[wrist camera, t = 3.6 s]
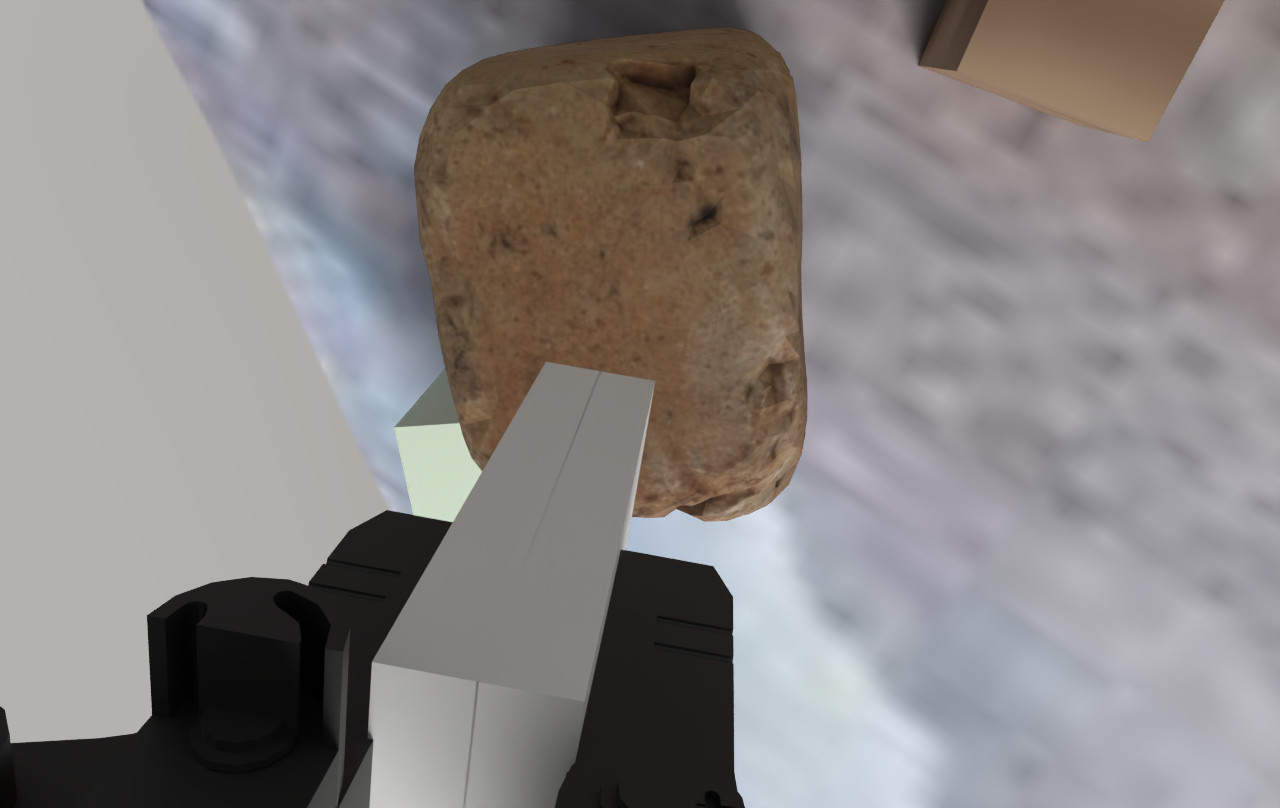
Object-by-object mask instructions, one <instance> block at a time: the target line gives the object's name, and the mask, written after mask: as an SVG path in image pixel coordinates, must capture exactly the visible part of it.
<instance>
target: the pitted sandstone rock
mask: <svg viewBox="0 0 1280 808" xmlns="http://www.w3.org/2000/svg"><path fill="white" fill-rule="evenodd" d="M801 166H802V165H801V150H800V136H799V122H798V112H797V101H796V94H795V88H794V82H793V78H792V76H791V74H790V72H789V69H788V67H787V65H786V63H785V61H784V59H783V58H782V56H781V54H780V53H779V52H778V51H776V50H775V49H774V48H773V47H772V46H771V45H770V44H769V43H767V42H766V41H765V40H764V39H763V38H762V37H760V36H759V35H757V34H755V33H753V32H751V31H748V30H743V29H734V28H709V29H692V30H683V31H670V32H662V33H653V34H642V35H633V36H625V37H615V38H604V39H597V40H590V41H583V42H571V43H565V44H559V45H554V46H545V47H538V48H531V49H525V50H519V51H514V52H508V53H504V54H501V55H497V56H493V57H490V58H486V59H483V60H481V61H479V62H477V63H476V64H474V65H472V66H470V67H468V68H466V69H464V70H463V71H461V72H460V73H459V74H458V75H457V76H455V77H454V78H453V79H452V80H451V81H450V82H448V83H447V84H446V85H445V86H444V88H443V90H442V91H441V93H440V94H439V96H438V98H437V99H436V101H435V102H434V104H433V106H432V107H431V109H430V112H429V114H428V117H427V119H426V122H425V125H424V127H423V130H422V132H421V135H420V138H419V144H418V149H417V155H416V160H415V166H414V176H415V188H416V200H417V211H418V223H419V235H420V242H421V246H422V249H423V253H424V257H425V260H426V264H427V267H428V271H429V274H430V278H431V284H432V291H433V298H434V306H435V313H436V321H437V328H438V335H439V340H440V344H441V349H442V354H443V358H444V363H445V367H446V372H447V377H448V381H449V385H450V389H451V393H452V397H453V401H454V405H455V409H456V412H457V416H458V420H459V423H460V427H461V431H462V434H463V438H464V440H465V443H466V445H467V448H468V450H469V453H470V455H471V458H472V459H473V460H474V462H475V463H476V464H477V466H478V467H479V468H480V469H481V471H483V469H484V468H485V466H486V464H487V463H488V461H489V459H490V457H491V456H492V454H493V452H494V450H495V449H496V447H497V445H498V444H499V442H500V440H501V438H502V437H503V435H504V433H505V432H506V430H507V428H508V426H509V425H510V423H511V421H512V419H513V418H514V416H515V414H516V413H517V411H518V409H519V407H520V406H521V404H522V402H523V400H524V399H525V397H526V395H527V394H528V392H529V390H530V388H531V387H532V385H533V383H534V381H535V380H536V378H537V376H538V375H539V373H540V371H541V369H542V368H543V366H544V364H545V362H551V363H556V364H562V365H568V366H573V367H579V368H585V369H590V370H596V371H602V372H607V373H613V374H618V375H624V376H630V377H635V378H641V379H647V380H652V381H655V385H654V391H653V396H652V402H651V408H650V414H649V420H648V426H647V431H646V437H645V443H644V449H643V455H642V461H641V466H640V472H639V478H638V484H637V490H636V496H635V501H634V507H633V513H632V517H644V518H655V517H665V516H666V515H668V514H669V513H671V512H672V511H674V510H675V509H678V510H680V511H683V512H685V513H687V514H689V515H692V516H694V517H696V518H698V519H700V520H702V521H727V520H731V519H734V518H737V517H740V516H743V515H746V514H750V513H752V512H754V511H756V510H758V509H760V508H762V507H765V506H766V505H768V504H769V503H771V502H772V501H773V500H774V499H775V498H776V497H777V496H778V495H779V494H780V493H781V492H782V491H783V490H784V489H785V488H786V487H787V486H788V485H789V483H790V480H791V478H792V475H793V473H794V471H795V468H796V466H797V464H798V461H799V459H800V456H801V454H802V449H803V443H804V438H805V428H806V422H807V376H806V365H805V354H804V338H803V321H802V293H801V258H802V184H801Z"/></svg>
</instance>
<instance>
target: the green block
mask: <svg viewBox="0 0 1280 808" xmlns="http://www.w3.org/2000/svg"><path fill="white" fill-rule="evenodd" d="M394 429H395V433H396V438H397V442H398V447H399V451H400V456H401V461H402V465H403V470H404V474H405V479H406V483H407V488H408V492H409V497H410V502H411V506H412V511H413V515H416V516H421V517H427V518H432V519H438V520H443V521H448V522H453V521H454V520H455V518H456V516H457V514H458V513H459V511H460V509H461V507H462V506H463V504H464V502H465V501H466V499H467V497H468V495H469V494H470V492H471V490H472V488H473V487H474V485H475V483H476V482H477V480H478V478H479V476H480V475H481V473H482V471H481V469H480V468H479V467H478V466H477V464H476V463H475V462H474V460H473V459H472V458H471V455H470V453H469V450H468V448H467V445H466V443H465V440H464V438H463V434H462V431H461V427H460V423H459V420H458V416H457V412H456V409H455V405H454V401H453V397H452V393H451V389H450V385H449V381H448V377H447V372H446V368H445V369H444V371H443V372H442V373H441V374H440V375H439V376H438V377H437V379H436V380H435V381H434V382H433V383H432V384H431V386H430V387H429V388H428V389H427V390H426V391H425V393H424V394H423V395H422V396H421V397H420V398H419V399H418V401H417V402H416V403H415V404H414V405H413V406H412V408H411V409H410V410H409V411H408V412H407V413H406V414H405V416H404V417H403V418H402V419H401V420H400V421H399V423H398V424H397V425H396V426H395V427H394Z"/></svg>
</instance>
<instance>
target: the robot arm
mask: <svg viewBox="0 0 1280 808" xmlns="http://www.w3.org/2000/svg"><path fill="white" fill-rule="evenodd" d="M654 385H655V381H652V380H647V379H641V378H635V377H630V376H624V375H618V374H613V373H607V372H602V371H596V370H590V369H585V368H579V367H573V366H568V365H562V364H556V363H551V362H545V364H544V366H543V368H542V369H541V371H540V373H539V375H538V376H537V378H536V380H535V381H534V383H533V385H532V387H531V388H530V390H529V392H528V394H527V395H526V397H525V399H524V400H523V402H522V404H521V406H520V407H519V409H518V411H517V413H516V414H515V416H514V418H513V419H512V421H511V423H510V425H509V426H508V428H507V430H506V432H505V433H504V435H503V437H502V438H501V440H500V442H499V444H498V445H497V447H496V449H495V450H494V452H493V454H492V456H491V457H490V459H489V461H488V463H487V464H486V466H485V468H484V469H483V471H482V473H481V475H480V476H479V478H478V480H477V482H476V483H475V485H474V487H473V488H472V490H471V492H470V494H469V495H468V497H467V499H466V501H465V502H464V504H463V506H462V507H461V509H460V511H459V513H458V514H457V516H456V518H455V520H454V521H453V522H448V521H443V520H438V519H432V518H427V517H421V516H416V515H410V514H405V513H399V512H394V511H388V510H386V511H385V512H383V513H381V514H379V515H377V516H375V517H374V518H372V519H370V520H368V521H366V522H364V523H362V524H360V525H359V526H357V527H355V528H353V529H351V530H350V531H349V532H348V533H347V534H346V535H345V537H344V538H343V539H342V541H341V542H340V543H339V544H338V546H337V547H336V548H335V550H334V551H333V552H332V553H331V555H330V556H329V557H328V559H327V563H326V564H323V565H322V566H321V567H320V569H319V570H318V571H317V572H316V574H315V575H314V577H313V578H312V579H311V580H310V581H309V585H308V586H307V585H304V584H301V583H298V582H295V581H292V580H287V579H272V578H256V577H249V578H241V579H234V580H227V581H220V582H213V583H210V584H207V585H204V586H201V587H198V588H196V589H193V590H190V591H187V592H184V593H182V594H179V595H176V596H174V597H173V598H172V599H170V600H169V601H167V602H166V603H164V604H163V605H161V606H160V607H159V608H157V609H156V610H154V611H153V612H151V613H150V614H149V615H147V623H148V644H149V663H150V681H151V700H152V716H151V717H150V718H149V719H148V720H147V722H146V723H145V724H144V725H143V726H142V727H141V729H140V730H139V731H138V732H137V733H134V734H129V735H121V736H113V737H106V738H96V739H78V740H61V741H43V742H26V743H10V735H9V730H8V725H7V719H6V714H5V710H4V709H3V708H2V707H0V808H745V807H744V803H743V799H742V797H741V795H740V794H739V793H738V792H737V786H736V780H735V774H734V681H733V663H732V662H733V636H732V633H733V596H732V595H731V593H730V592H729V590H728V589H727V587H726V585H725V584H724V582H723V581H722V579H721V578H720V576H719V574H718V573H717V571H716V570H715V568H714V567H713V566H709V565H703V564H698V563H692V562H687V561H681V560H676V559H670V558H665V557H659V556H654V555H648V554H643V553H637V552H632V551H626V548H627V542H628V536H629V530H630V525H631V519H632V513H633V507H634V501H635V496H636V490H637V484H638V478H639V472H640V466H641V461H642V455H643V449H644V443H645V437H646V431H647V426H648V420H649V414H650V408H651V402H652V396H653V391H654Z"/></svg>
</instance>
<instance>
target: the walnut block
mask: <svg viewBox="0 0 1280 808" xmlns="http://www.w3.org/2000/svg"><path fill="white" fill-rule="evenodd" d="M1223 2H1224V0H946V2H945V5H944V7H943V9H942V12H941V14H940V16H939V19H938V21H937V23H936V25H935V28H934V30H933V32H932V35H931V37H930V39H929V42H928V44H927V46H926V49H925V51H924V53H923V56H922V58H921V60H920V63H919V65H918V66H920V67H923V68H926V69H928V70H931V71H934V72H937V73H939V74H942V75H945V76H947V77H950V78H953V79H955V80H958V81H961V82H963V83H966V84H969V85H972V86H974V87H977V88H980V89H982V90H985V91H988V92H990V93H993V94H996V95H999V96H1001V97H1004V98H1007V99H1009V100H1012V101H1015V102H1017V103H1020V104H1023V105H1025V106H1028V107H1031V108H1034V109H1036V110H1039V111H1042V112H1044V113H1047V114H1050V115H1052V116H1055V117H1058V118H1061V119H1063V120H1066V121H1069V122H1071V123H1074V124H1077V125H1080V126H1084V127H1088V128H1093V129H1097V130H1101V131H1105V132H1109V133H1113V134H1117V135H1121V136H1125V137H1129V138H1133V139H1137V140H1141V141H1145V142H1148V141H1149V140H1150V138H1151V136H1152V134H1153V132H1154V130H1155V128H1156V127H1157V125H1158V123H1159V121H1160V119H1161V117H1162V115H1163V114H1164V112H1165V110H1166V108H1167V106H1168V104H1169V102H1170V101H1171V99H1172V97H1173V95H1174V93H1175V91H1176V90H1177V88H1178V86H1179V84H1180V82H1181V80H1182V78H1183V77H1184V75H1185V73H1186V71H1187V69H1188V67H1189V65H1190V64H1191V62H1192V60H1193V58H1194V56H1195V54H1196V52H1197V51H1198V49H1199V47H1200V45H1201V43H1202V41H1203V39H1204V38H1205V36H1206V34H1207V32H1208V30H1209V28H1210V26H1211V25H1212V23H1213V21H1214V19H1215V17H1216V15H1217V13H1218V12H1219V10H1220V8H1221V6H1222V4H1223Z"/></svg>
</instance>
